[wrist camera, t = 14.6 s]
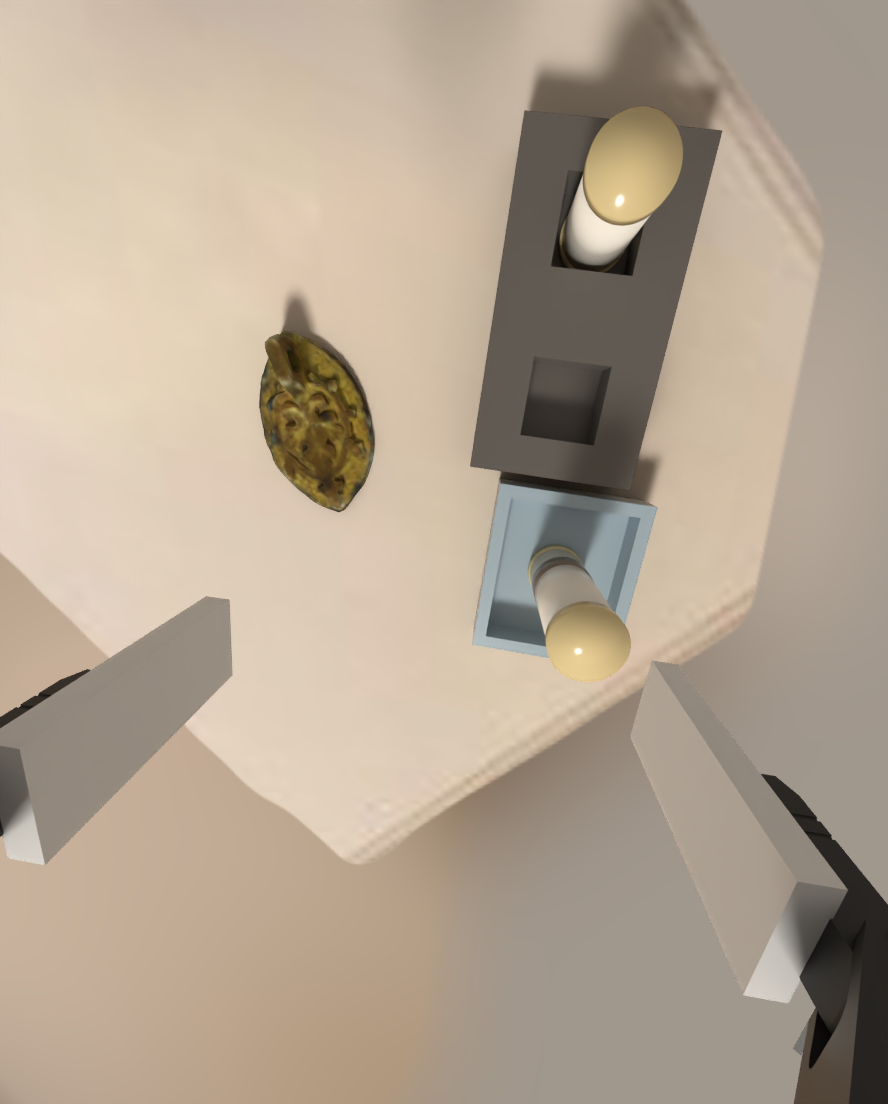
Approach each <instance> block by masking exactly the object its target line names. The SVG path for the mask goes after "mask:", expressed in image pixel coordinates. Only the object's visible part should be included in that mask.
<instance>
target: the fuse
mask: <svg viewBox="0 0 888 1104" xmlns="http://www.w3.org/2000/svg"><path fill="white" fill-rule="evenodd" d="M682 161H683V146H682V140H681V136H680V133H679V131H678V129H677V127H676V125H675V124H674V122H673V121H672V120H671V119H670V118H669V117H668V116H667V115H666V114H665V113H663V112H662V111H660V110H658V109H655V108H652V107H646V106H639V107H632V108H629V109H626V110H624V111H622V112H620V113H618V114H616V115H615V116H613V117H612V118H611V119H610V120H609V121H608V122H607V123H606V124H605V125H604V126H603V127H602V128H601V129H600V131H599V132H598V134H597V135H596V137H595V139H594V141H593V143H592V145H591V148H590V151H589V154H588V157H587V159H586V162H585V166H584V171H583V176H582V179H581V181H580V184H579V187H578V190H577V192H576V195H575V198H574V201H573V203H572V206H571V209H570V212H569V214H568V216H567V218H566V220H565V222H564V224H563V227H562V229H561V232H560V235H559V241H558V252H559V257H560V260H561V262H562V264H563V266H564V267H565V268H569V269H577V270H585V271H594V272H602V273H607V272H608V271H609V270H610V269H611V268H612V267H613V266H614V265H615V264H616V263H617V261H618V260H619V259H620V257H621V256H622V254H623V252H624V251H625V248H626V247H627V246H628V244H629V243H630V242H631V240H632V239H633V238H634V237H635V235H636V234H637V233H638V231H639V230H640V229H641V227H642V226H643V225H644V223H645V222H646V221H647V219H648V218H649V217H650V215H651V214H652V213H654V212H655V211H656V210H657V209H658V207H659V206H660V205H661V204H662V203H663V201H664V200H665V199H666V197H667V196H668V195H669V193H670V192H671V191H672V189H673V187H674V185H675V184H676V182H677V179H678V177H679V174H680V171H681V166H682Z"/></svg>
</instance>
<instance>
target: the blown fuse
mask: <svg viewBox="0 0 888 1104" xmlns="http://www.w3.org/2000/svg"><path fill="white" fill-rule="evenodd" d="M528 577H529V581H530V584H531V586H532V590H533V594H534V598H535V601H536V604H537V607H538V611H539V614H540V618H541V622H542V626H543V630H544V634H545V644H546V648H547V652H548V656H549V658H550V661H551V663H552V664H553V666H554V667H555V668H556V669H557V670H558V671H559V672H560V673H561V674H563V675H564V676H566V677H568V678H570V679H573V680H576V681H582V682H593V681H599V680H602V679H605V678H607V677H609V676H611V675H613V674H614V673H616V672H617V671H618V670H619V669H620V668H621V667H622V666H623V665H624V663H625V662H626V660H627V658H628V656H629V653H630V648H631V641H630V635H629V632H628V630H627V628H626V626H625V624H624V623H623V622H622V620H621V619H620V617H619V616H618V615H617V614H616V613H615V612H614V611H613V610H612V608H611V607H610V605H609V604H608V602H607V601H606V599H605V598H604V596H603V595H602V594H601V592H600V591H599V589H598V588H597V586H596V585H595V583H594V581H593V579H592V577H591V576H590V574H589V573H588V571H587V570H586V568H585V567H584V566H583V564H582V562H581V560H580V558H579V557H578V556H577V554H576V553H575V552H574V551H573V550H571V549H570V548H568V547H565V546H562V545H549V546H546V547H544V548H542V549H540V550H538V551H537V552H536V553H535V554H534V555H533V557H532V558H531V560H530V562H529V565H528Z"/></svg>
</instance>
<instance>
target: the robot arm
mask: <svg viewBox="0 0 888 1104" xmlns="http://www.w3.org/2000/svg"><path fill="white" fill-rule="evenodd" d="M231 676H232V653H231V628H230V602H229V600H228V599H221V598H214V597H207V596H206V597H204V598H203V599H201V600H200V601H198V602H197V603H195V604H194V605H192V606H190V607H189V608H187V609H186V610H184V611H183V612H181V613H180V614H178V615H176V616H175V617H173V618H172V619H170V620H169V621H167V622H165V623H164V624H162V625H161V626H159V627H158V628H156V629H155V630H153V631H151V632H150V633H148V634H147V635H145V636H144V637H142V638H141V639H139V640H137V641H136V642H134V643H133V644H131V645H130V646H128V647H127V648H125V649H123V650H122V651H120V652H119V653H117V654H116V655H114V656H113V657H111V658H109V659H108V660H106V661H105V662H103V663H102V664H100V665H98V666H97V667H95V668H94V669H92V670H88V669H87V670H84V671H82V672H79V673H77V674H74V675H72V676H69V677H67V678H64V679H61V680H59V681H58V682H56V683H55V684H53V685H52V686H50V687H48V688H47V689H45V690H43V691H42V692H40V693H39V695H38V696H34V697H32V698H30V699H29V700H27V701H26V702H24V703H22V704H21V706H20V707H19V708H17V707H16V708H14V709H13V710H11V711H9V712H8V713H6V714H5V715H3V716H1V717H0V836H3V840H4V843H5V848H6V852H7V855H8V858H10V859H15V860H21V861H26V862H31V863H36V864H43V865H45V864H46V863H47V862H48V861H49V860H50V859H51V858H52V857H53V856H54V855H55V854H56V853H57V852H58V851H59V850H60V849H61V848H62V847H63V846H64V845H65V844H66V843H67V842H68V841H69V840H70V839H71V838H72V837H73V836H74V835H75V834H76V833H77V832H78V831H79V830H80V829H81V828H82V827H83V826H84V825H85V824H86V823H87V822H88V821H89V820H90V819H91V818H92V817H93V816H94V815H95V814H96V813H97V812H98V811H99V810H100V809H101V808H102V806H104V805H105V804H106V803H107V802H108V801H109V800H110V799H111V798H112V797H113V795H114V794H116V793H117V792H118V791H119V789H120V788H121V787H122V786H123V785H124V784H125V783H126V782H127V781H128V780H129V779H130V778H131V777H132V776H133V775H134V774H135V773H136V772H137V771H138V770H139V769H140V768H141V767H142V766H143V765H144V764H145V763H146V762H147V761H148V760H149V759H150V758H151V757H152V756H153V755H154V754H155V753H156V752H157V751H158V750H159V749H160V748H161V747H162V746H163V745H164V744H165V743H166V742H167V741H168V740H169V739H170V738H171V737H172V736H173V735H174V734H175V733H176V732H177V731H178V730H179V729H180V728H181V727H182V726H183V725H184V724H185V723H186V722H187V721H188V720H189V719H190V718H191V717H192V716H193V715H194V714H195V712H196V711H197V710H198V709H199V708H200V707H201V706H202V705H203V704H204V703H205V702H206V701H207V700H208V699H209V698H210V697H211V696H212V695H213V694H214V693H215V692H216V691H217V690H218V689H219V688H220V687H221V686H222V685H223V684H224V683H225V682H226V681H227V680H228V679H229V678H230V677H231ZM630 737H631V739H632V742H633V744H634V747H635V749H636V751H637V753H638V756H639V758H640V760H641V763H642V765H643V767H644V769H645V771H646V774H647V776H648V779H649V781H650V783H651V785H652V787H653V790H654V792H655V795H656V797H657V799H658V801H659V803H660V806H661V808H662V811H663V813H664V815H665V817H666V820H667V822H668V824H669V827H670V829H671V831H672V834H673V836H674V838H675V840H676V843H677V845H678V847H679V850H680V852H681V854H682V856H683V859H684V861H685V863H686V866H687V868H688V870H689V872H690V875H691V877H692V879H693V882H694V884H695V886H696V888H697V890H698V893H699V895H700V898H701V900H702V902H703V904H704V907H705V909H706V911H707V913H708V916H709V918H710V920H711V923H712V925H713V927H714V929H715V932H716V934H717V937H718V939H719V941H720V943H721V946H722V948H723V950H724V952H725V955H726V957H727V959H728V962H729V964H730V966H731V968H732V971H733V973H734V975H735V978H736V980H737V982H738V985H739V987H740V989H741V991H742V994H743V995H745V996H751V997H756V998H761V999H768V1000H773V1001H777V1002H783V1003H789V1001H790V999H791V997H792V995H793V993H794V991H795V990H796V988H797V986H798V984H799V982H800V980H801V981H802V983H803V985H804V987H805V989H806V990H807V992H808V994H809V996H810V998H811V1000H812V1001H813V1003H814V1005H815V1007H816V1008H815V1010H814V1012H813V1014H812V1015H811V1017H810V1019H809V1021H808V1023H807V1025H806V1026H805V1028H804V1030H803V1031H802V1033H801V1035H800V1037H799V1039H798V1040H797V1042H796V1044H795V1046H794V1048H793V1049H794V1050H795V1051H797V1052H798V1053H799V1054H800V1055H801V1054H802V1053H803V1055H802V1061H801V1067H800V1073H799V1077H798V1083H797V1089H796V1095H795V1100H794V1104H888V904H887V903H886V902H885V901H884V899H883V898H882V897H881V896H880V895H879V893H878V892H877V891H876V890H875V888H874V887H873V886H872V885H871V883H870V882H869V881H868V880H867V879H866V877H865V876H864V875H863V874H862V872H861V871H860V870H859V869H858V868H857V866H856V865H855V864H854V863H853V861H852V860H851V859H850V858H849V856H848V855H847V854H846V853H845V851H844V850H843V849H842V848H841V847H840V845H839V844H838V843H837V842H836V841H835V840H832V838H831V834H830V833H829V832H828V831H827V829H826V828H825V827H824V826H823V824H822V823H821V822H819V821H817V817H816V816H815V815H814V813H813V812H812V811H811V810H810V808H809V807H808V806H807V805H806V803H805V802H804V801H803V800H802V799H801V797H800V796H799V795H798V794H796V793H795V792H794V791H793V790H791V789H790V788H789V787H788V786H787V785H785V784H784V783H783V782H782V781H781V780H779V779H778V778H777V777H776V776H771V775H764V774H760V773H759V771H758V770H757V769H756V767H755V766H754V765H753V763H752V762H751V761H750V759H749V758H748V757H747V755H746V754H745V753H744V751H743V750H742V749H741V747H740V746H739V745H738V744H737V742H736V741H735V739H734V738H733V737H732V735H731V734H730V733H729V731H728V730H727V729H726V728H725V726H724V725H723V723H722V722H721V721H720V720H719V718H718V717H717V716H716V714H715V713H714V712H713V710H712V709H711V708H710V706H709V705H708V704H707V702H706V701H705V700H704V698H703V697H702V696H701V695H700V693H699V692H698V690H697V689H696V688H695V686H694V685H693V684H692V682H691V681H690V680H689V679H688V677H687V676H686V674H685V673H684V672H683V670H682V669H681V668H680V666H679V665H678V664H671V663H664V662H657V661H652V662H651V665H650V669H649V672H648V676H647V680H646V683H645V687H644V690H643V694H642V697H641V701H640V704H639V708H638V711H637V715H636V718H635V722H634V725H633V729H632V732H631V736H630Z"/></svg>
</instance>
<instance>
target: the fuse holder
mask: <svg viewBox="0 0 888 1104" xmlns="http://www.w3.org/2000/svg"><path fill="white" fill-rule="evenodd" d="M609 120H610V119H604V118H594V117H584V116H574V115H565V114H555V113H545V112H535V111H526V110H525V111H524V118H523V124H522V131H521V137H520V144H519V150H518V157H517V163H516V170H515V177H514V183H513V190H512V196H511V203H510V209H509V216H508V222H507V229H506V235H505V242H504V248H503V255H502V261H501V268H500V274H499V281H498V287H497V294H496V301H495V307H494V314H493V320H492V327H491V333H490V340H489V346H488V353H487V359H486V366H485V372H484V379H483V385H482V392H481V398H480V405H479V412H478V418H477V425H476V431H475V438H474V444H473V451H472V457H471V464H470V466H471V467H477V468H484V469H491V470H497V471H504V472H511V473H517V474H524V475H530V476H537V477H544V478H550V479H557V480H564V481H570V482H577V483H584V484H590V485H597V486H604V487H610V488H617V489H624V490H630V488H631V484H632V480H633V476H634V472H635V468H636V465H637V461H638V457H639V453H640V449H641V445H642V441H643V437H644V433H645V430H646V426H647V422H648V418H649V414H650V410H651V406H652V402H653V398H654V395H655V391H656V387H657V383H658V379H659V375H660V371H661V367H662V364H663V360H664V356H665V352H666V348H667V344H668V340H669V336H670V332H671V329H672V325H673V321H674V317H675V313H676V309H677V305H678V301H679V297H680V294H681V290H682V286H683V282H684V278H685V274H686V270H687V266H688V262H689V259H690V255H691V251H692V247H693V243H694V239H695V235H696V231H697V227H698V224H699V220H700V216H701V212H702V208H703V204H704V200H705V196H706V192H707V189H708V185H709V181H710V177H711V173H712V169H713V165H714V161H715V157H716V154H717V150H718V146H719V142H720V138H721V134H722V131H721V130H711V129H702V128H692V127H682V126H676V127H677V129H678V131H679V133H680V136H681V140H682V146H683V161H682V166H681V171H680V174H679V177H678V179H677V182H676V184H675V185H674V187H673V189H672V191H671V192H670V193H669V195H668V196H667V197H666V199H665V200H664V201H663V203H662V204H661V205H660V206H659V207H658V209H657V210H656V211H655V212H654V213H652V214H651V215H650V217H649V218H648V219H647V221H646V222H645V223H644V225H643V226H642V227H641V229H640V230H639V231H638V233H637V234H636V235H635V237H634V238H633V239H632V240H631V242H630V243H629V244H628V246H627V247H626V248H625V251H624V252H623V254H622V256H621V257H620V259H619V260H618V261H617V263H616V264H615V265H614V266H613V267H612V268H611V269H610V270H609V271H608V272H607V273H602V272H594V271H585V270H577V269H569V268H565V267H564V266H563V264H562V262H561V260H560V257H559V252H558V241H559V235H560V232H561V229H562V227H563V224H564V222H565V220H566V218H567V216H568V214H569V212H570V209H571V206H572V203H573V201H574V198H575V195H576V192H577V190H578V187H579V184H580V181H581V179H582V176H583V171H584V166H585V162H586V159H587V157H588V154H589V151H590V148H591V145H592V143H593V141H594V139H595V137H596V135H597V134H598V132H599V131H600V129H601V128H602V127H603V126H604V125H605V124H606V123H607V122H608V121H609Z"/></svg>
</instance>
